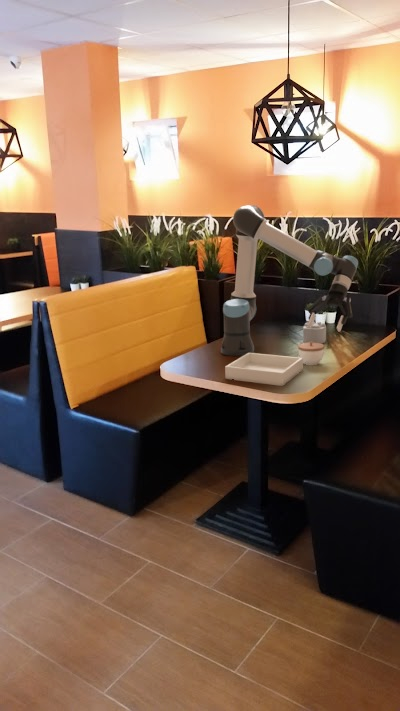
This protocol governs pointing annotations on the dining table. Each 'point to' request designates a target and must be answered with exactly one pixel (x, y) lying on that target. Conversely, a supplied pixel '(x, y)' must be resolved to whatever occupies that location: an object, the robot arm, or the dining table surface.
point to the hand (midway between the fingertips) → (323, 328)
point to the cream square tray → (264, 368)
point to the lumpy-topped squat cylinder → (314, 333)
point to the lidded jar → (311, 352)
